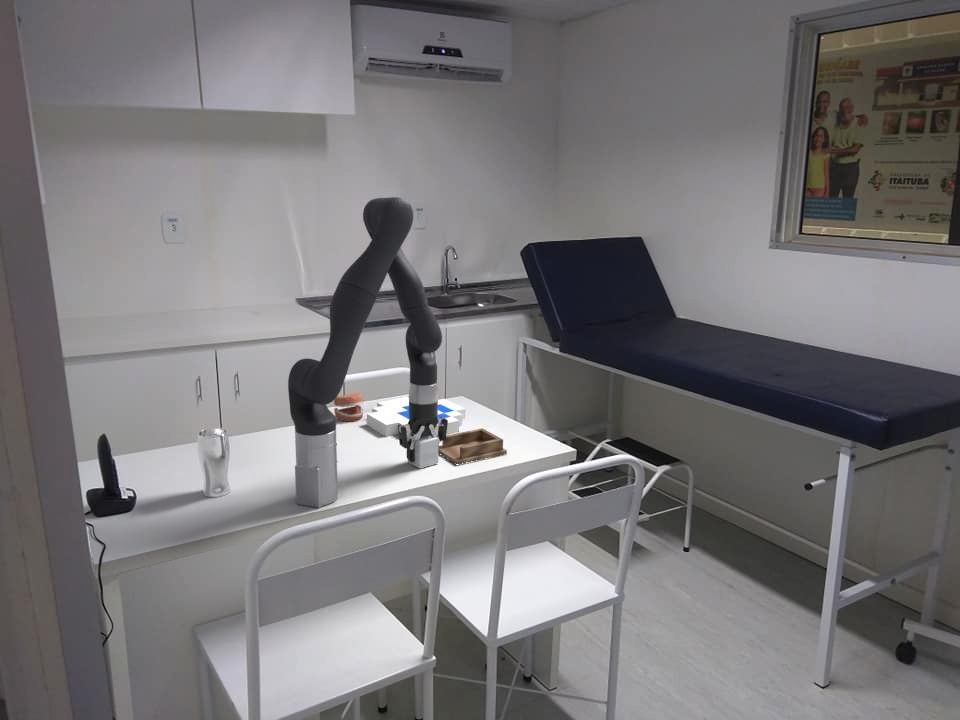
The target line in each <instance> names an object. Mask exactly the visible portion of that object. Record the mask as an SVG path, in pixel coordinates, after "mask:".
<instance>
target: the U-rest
mask: <svg viewBox="0 0 960 720" xmlns="http://www.w3.org/2000/svg"><path fill="white" fill-rule="evenodd" d="M441 443H442V445H439V454H438V455H440V454H441V455H440V456H442V455H443V456H444V457H443V456H442V457H443V458H445V457H446V458H448V459H449V460H451V461H453V462H454V463H456V464H462V463H466V462H471V461H475V462H477V461H476V460H480V459H484V460H486V459H485V458H489V457H493V458H496V457H495V456H497V457H501V456H500V455H502V456H505V455H504V454H506V455H508V451H507V449H505V448H504V439H503V438H501V437H500V436H497V435H495V434H494V433H492V432H491V431H488V430H486V429H485V428H477V429H473V430H472V429H471V430H468V431H462V432H457V433H453V434H448V435H446V440H445V441H441ZM446 458H445V459H446ZM448 459H447V460H448ZM489 459H490V458H489ZM449 460H448V461H449ZM451 461H450V462H451ZM480 461H481V460H480ZM454 463H453V464H454ZM471 463H472V462H471ZM456 464H455V465H456ZM462 465H463V464H462Z"/></svg>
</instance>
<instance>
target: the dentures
mask: <svg viewBox="0 0 960 720" xmlns="http://www.w3.org/2000/svg"><path fill="white" fill-rule="evenodd" d="M333 404H334V407H337V408H334V416H335V418H336V417H337V418H338V420H341V421H343V422H356V420H358V421H360V420H362V419H363V417H364V408H363V406H362V405H363V404H364V397H363V394H361V393H359V392H353V393H349V394H343V395H338V396H337V397H336V398H335V399H334V400H333ZM338 408H340V409H338ZM361 418H362V419H361Z"/></svg>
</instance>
